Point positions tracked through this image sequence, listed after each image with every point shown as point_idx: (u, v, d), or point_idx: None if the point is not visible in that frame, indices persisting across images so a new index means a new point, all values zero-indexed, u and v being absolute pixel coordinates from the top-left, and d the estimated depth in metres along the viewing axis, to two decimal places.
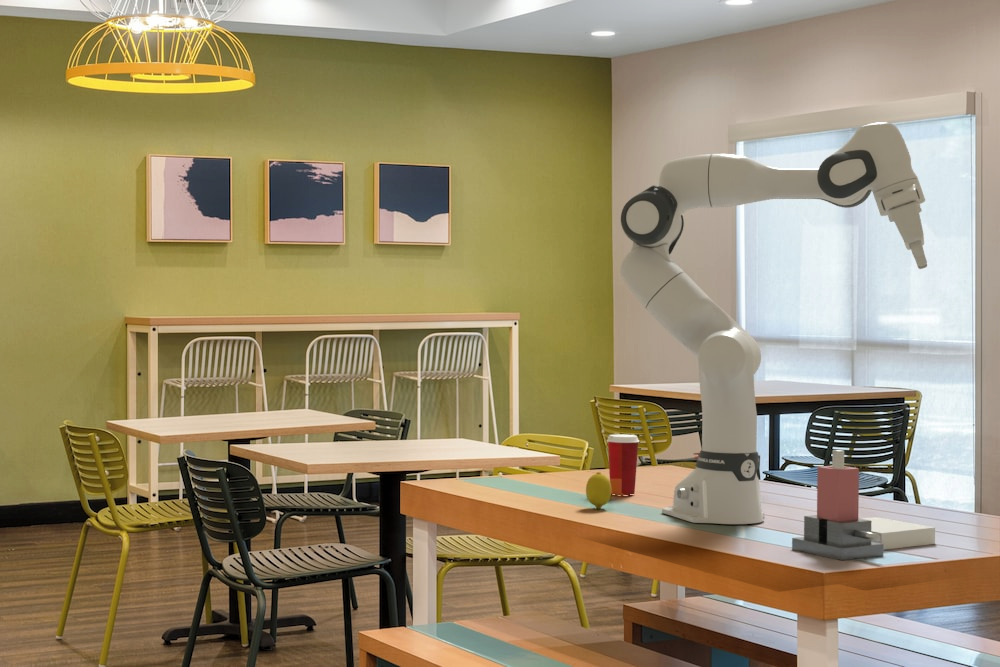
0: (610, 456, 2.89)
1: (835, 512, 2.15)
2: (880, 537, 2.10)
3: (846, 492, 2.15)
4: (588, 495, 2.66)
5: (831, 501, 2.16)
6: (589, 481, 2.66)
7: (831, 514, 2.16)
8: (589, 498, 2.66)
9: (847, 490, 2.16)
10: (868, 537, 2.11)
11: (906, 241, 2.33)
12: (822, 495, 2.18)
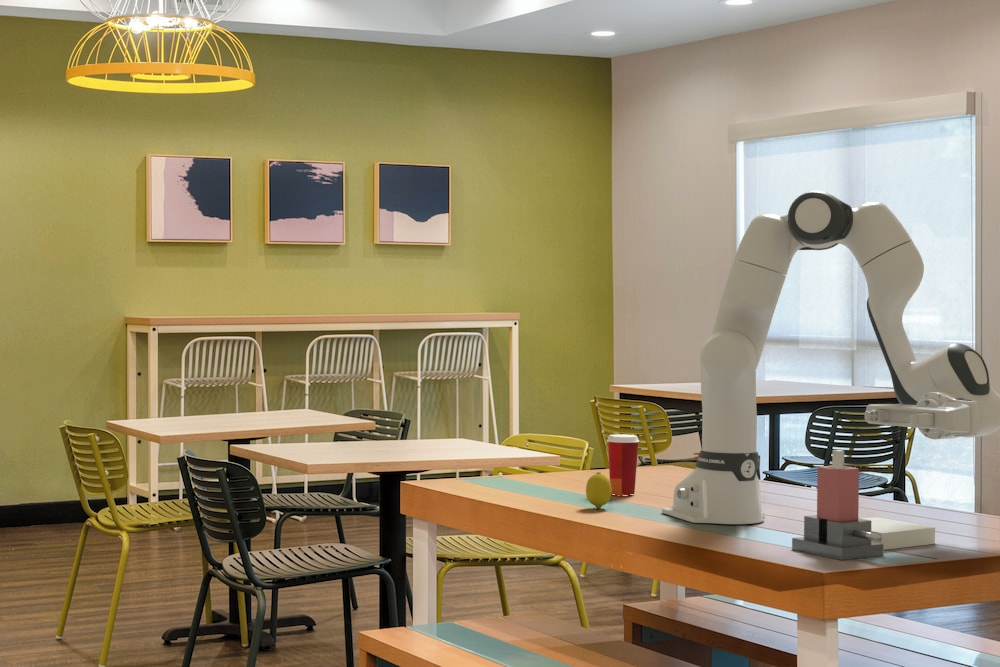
0: (610, 456, 2.89)
1: (835, 512, 2.15)
2: (880, 537, 2.10)
3: (846, 492, 2.15)
4: (588, 495, 2.66)
5: (831, 501, 2.16)
6: (589, 481, 2.66)
7: (831, 514, 2.16)
8: (589, 498, 2.66)
9: (847, 490, 2.16)
10: (868, 537, 2.11)
11: (949, 412, 2.18)
12: (822, 495, 2.18)
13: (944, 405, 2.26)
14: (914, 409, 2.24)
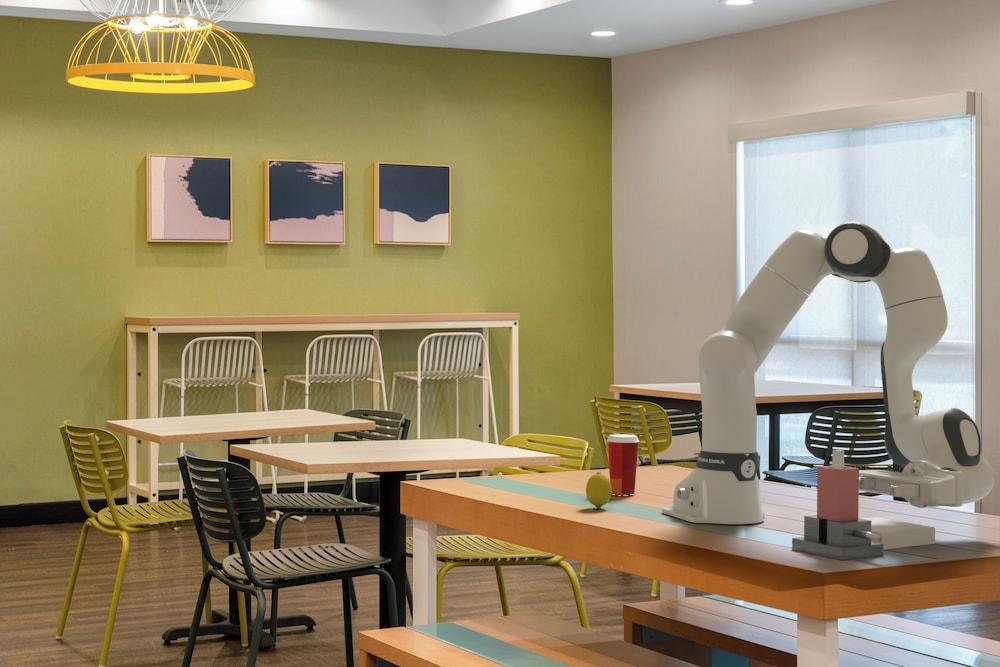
0: (610, 456, 2.89)
1: (835, 512, 2.15)
2: (880, 537, 2.10)
3: (846, 492, 2.15)
4: (588, 495, 2.66)
5: (831, 501, 2.16)
6: (589, 481, 2.66)
7: (831, 514, 2.16)
8: (589, 498, 2.66)
9: (847, 490, 2.16)
10: (868, 537, 2.11)
11: (934, 484, 2.17)
12: (822, 495, 2.18)
13: (929, 475, 2.24)
14: (899, 479, 2.23)
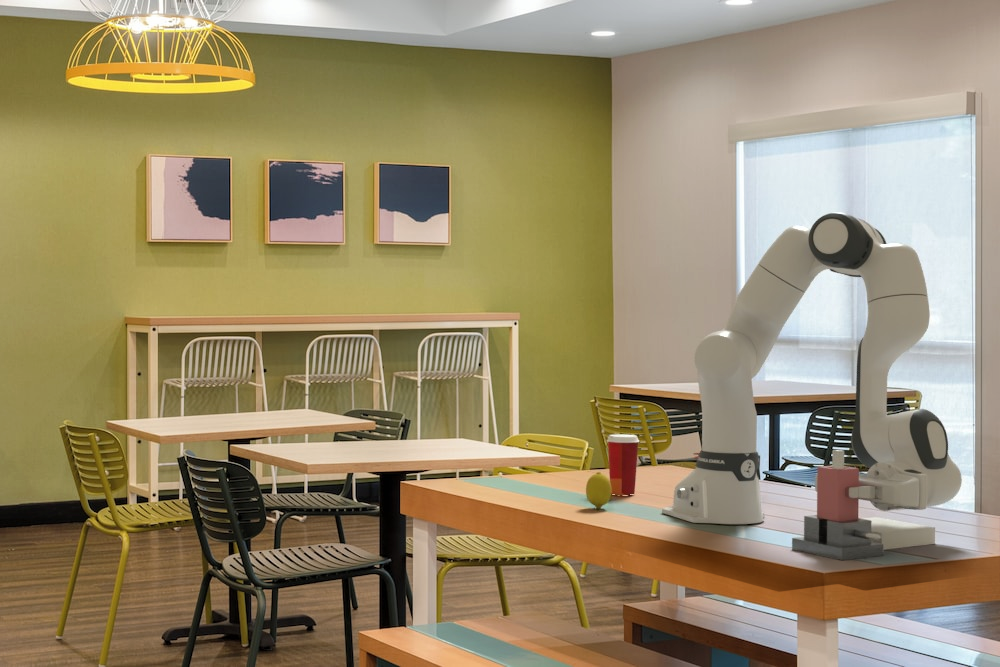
0: (610, 456, 2.89)
1: (835, 512, 2.15)
2: (880, 537, 2.10)
3: None
4: (588, 495, 2.66)
5: (831, 501, 2.16)
6: (589, 481, 2.66)
7: (831, 514, 2.16)
8: (589, 498, 2.66)
9: None
10: (868, 537, 2.11)
11: (896, 487, 2.12)
12: (822, 495, 2.18)
13: (893, 477, 2.19)
14: (862, 481, 2.18)
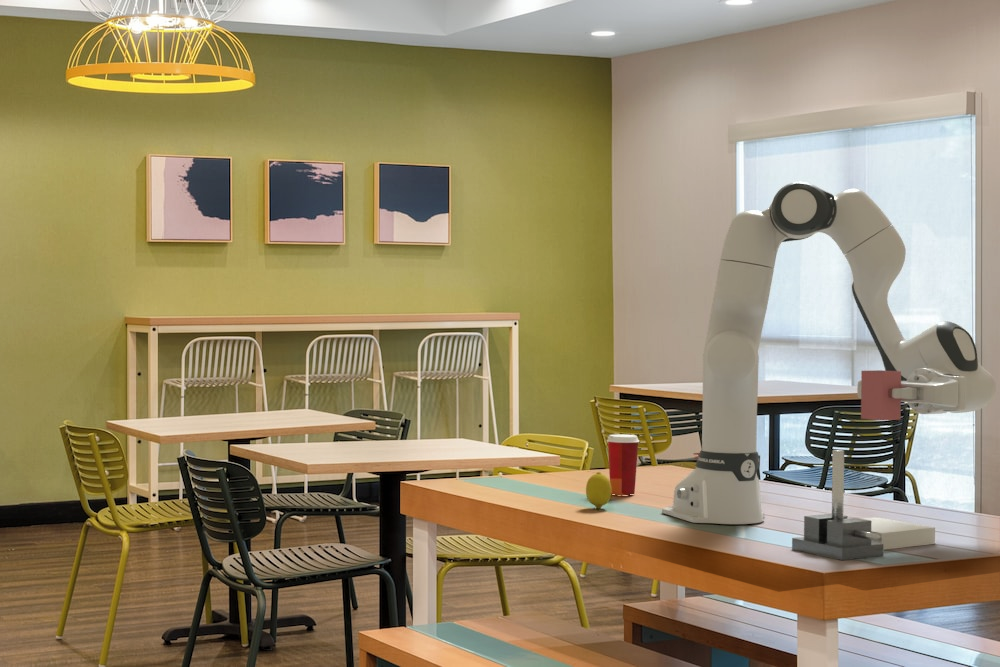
0: (610, 456, 2.89)
1: (879, 412, 2.27)
2: (880, 537, 2.10)
3: None
4: (588, 495, 2.66)
5: (875, 402, 2.28)
6: (589, 481, 2.66)
7: (875, 414, 2.28)
8: (589, 498, 2.66)
9: None
10: (868, 537, 2.11)
11: (937, 386, 2.24)
12: (866, 397, 2.30)
13: (933, 381, 2.32)
14: (904, 384, 2.30)
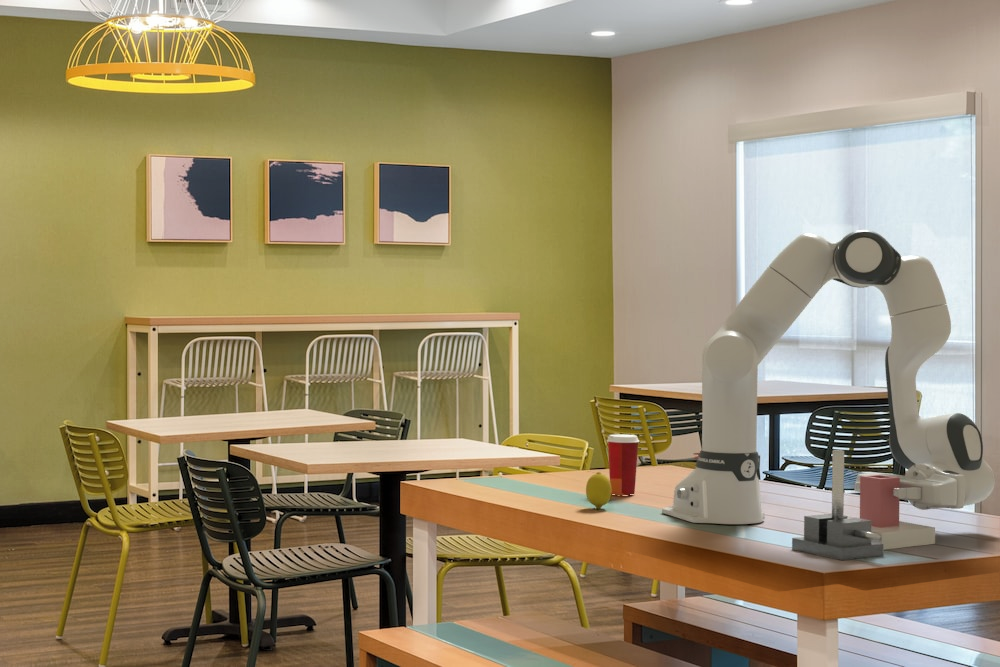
0: (610, 456, 2.89)
1: (877, 519, 2.27)
2: (880, 537, 2.10)
3: (888, 500, 2.28)
4: (588, 495, 2.66)
5: (874, 508, 2.28)
6: (589, 481, 2.66)
7: (874, 521, 2.28)
8: (589, 498, 2.66)
9: (889, 498, 2.28)
10: (868, 537, 2.11)
11: (936, 487, 2.24)
12: (865, 503, 2.30)
13: (931, 478, 2.32)
14: (902, 482, 2.30)
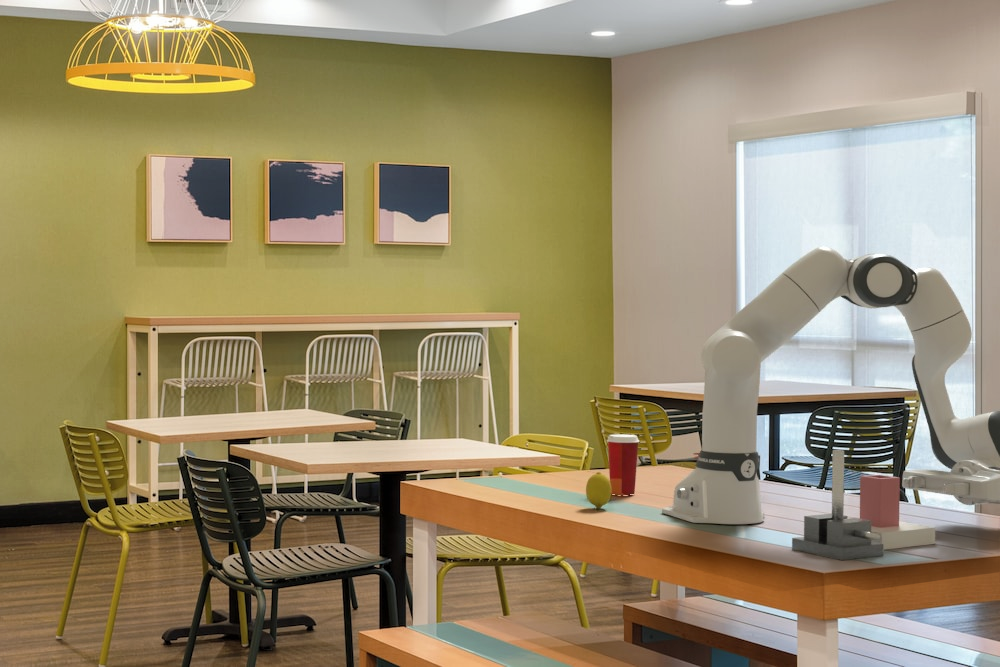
0: (610, 456, 2.89)
1: (877, 519, 2.27)
2: (880, 537, 2.10)
3: (888, 500, 2.28)
4: (588, 495, 2.66)
5: (874, 508, 2.28)
6: (589, 481, 2.66)
7: (874, 521, 2.28)
8: (589, 498, 2.66)
9: (889, 498, 2.28)
10: (868, 537, 2.11)
11: (983, 482, 2.31)
12: (865, 503, 2.30)
13: (977, 474, 2.38)
14: (950, 478, 2.37)
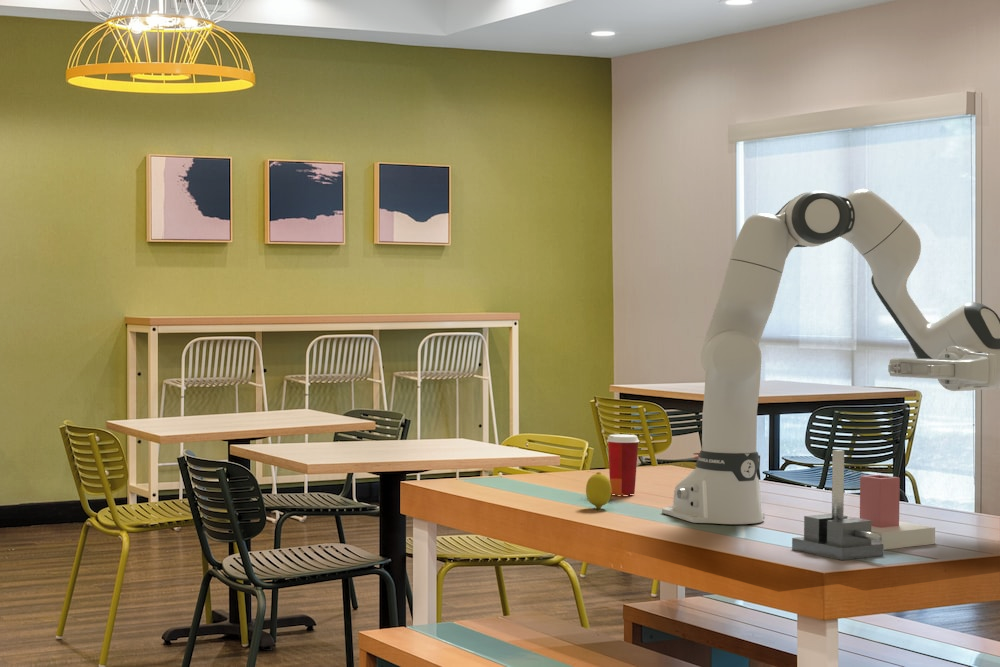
0: (610, 456, 2.89)
1: (877, 519, 2.27)
2: (880, 537, 2.10)
3: (888, 500, 2.28)
4: (588, 495, 2.66)
5: (874, 508, 2.28)
6: (589, 481, 2.66)
7: (874, 521, 2.28)
8: (589, 498, 2.66)
9: (889, 498, 2.28)
10: (868, 537, 2.11)
11: (969, 363, 2.31)
12: (865, 503, 2.30)
13: (963, 358, 2.39)
14: (935, 361, 2.38)
